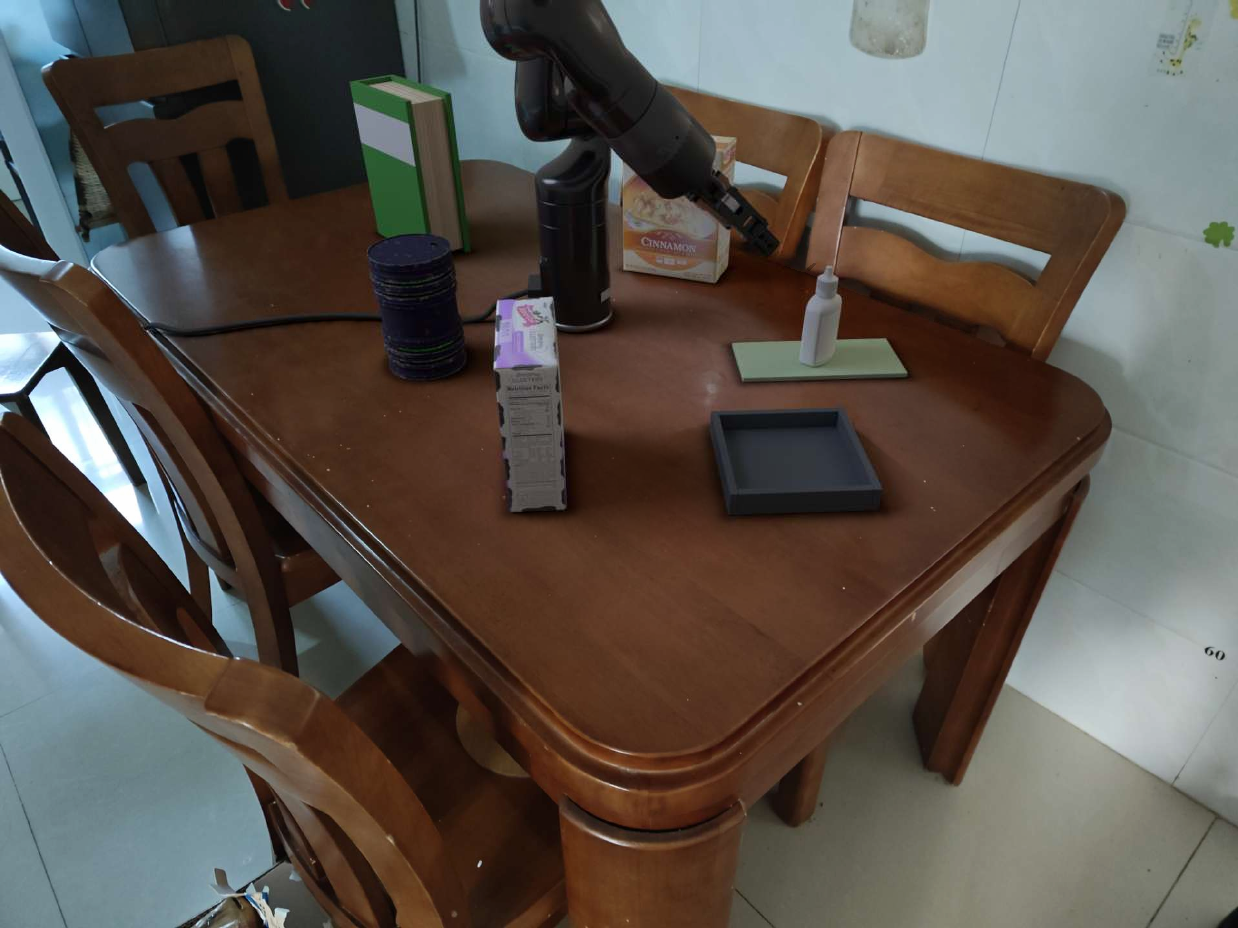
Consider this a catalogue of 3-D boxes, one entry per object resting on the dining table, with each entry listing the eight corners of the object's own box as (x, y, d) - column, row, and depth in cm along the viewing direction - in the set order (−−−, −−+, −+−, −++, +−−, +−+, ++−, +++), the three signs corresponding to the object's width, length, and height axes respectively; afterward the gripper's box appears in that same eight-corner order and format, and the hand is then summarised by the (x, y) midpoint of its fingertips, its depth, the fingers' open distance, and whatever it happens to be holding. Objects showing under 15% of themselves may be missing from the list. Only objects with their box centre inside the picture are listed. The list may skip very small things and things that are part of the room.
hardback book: (470, 251, 134) (450, 93, 120) (430, 263, 130) (405, 101, 116) (416, 222, 145) (392, 74, 131) (378, 233, 141) (349, 81, 127)
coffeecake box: (622, 270, 127) (620, 139, 115) (638, 254, 132) (638, 126, 121) (715, 285, 122) (723, 149, 111) (728, 266, 128) (737, 135, 116)
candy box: (511, 434, 91) (495, 297, 81) (564, 431, 92) (555, 294, 82) (508, 514, 80) (490, 366, 70) (568, 510, 80) (559, 362, 71)
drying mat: (742, 382, 100) (743, 378, 99) (731, 346, 107) (732, 342, 107) (906, 377, 100) (907, 373, 100) (884, 342, 107) (885, 338, 107)
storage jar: (400, 388, 100) (377, 272, 91) (379, 354, 107) (356, 242, 98) (478, 368, 103) (463, 254, 94) (453, 336, 110) (437, 227, 101)
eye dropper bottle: (845, 361, 102) (861, 269, 95) (806, 370, 101) (819, 277, 93) (826, 345, 105) (839, 256, 98) (787, 354, 104) (798, 263, 97)
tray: (728, 515, 80) (730, 494, 78) (709, 430, 91) (710, 411, 90) (878, 510, 80) (883, 489, 78) (840, 426, 92) (843, 406, 90)
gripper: (718, 126, 73) (812, 231, 84) (654, 91, 84) (744, 188, 94) (662, 193, 75) (761, 289, 85) (606, 150, 86) (700, 240, 96)
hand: (752, 236), depth 90 cm, fingers open, 8 cm apart
